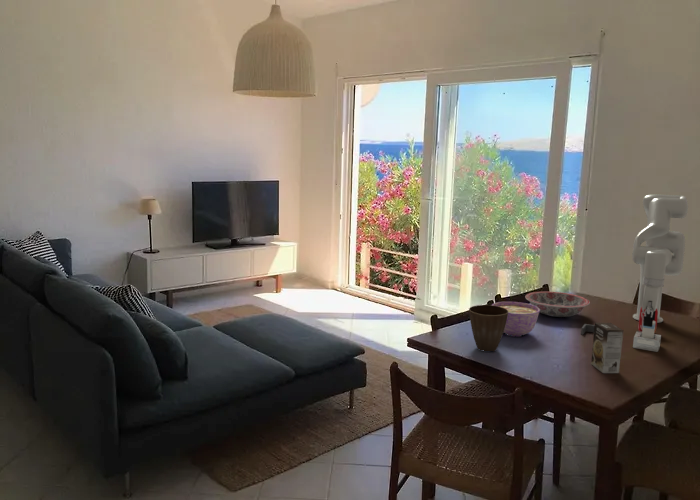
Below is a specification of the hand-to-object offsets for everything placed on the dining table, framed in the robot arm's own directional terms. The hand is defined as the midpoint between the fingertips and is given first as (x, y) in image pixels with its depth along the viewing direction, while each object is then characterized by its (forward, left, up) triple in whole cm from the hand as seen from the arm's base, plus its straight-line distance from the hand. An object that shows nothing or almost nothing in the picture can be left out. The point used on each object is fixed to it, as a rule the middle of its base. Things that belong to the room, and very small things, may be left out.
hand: (648, 322), depth 238 cm
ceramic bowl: (-26, -42, -10) cm, 51 cm away
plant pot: (+41, -53, -10) cm, 67 cm away
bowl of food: (+15, -50, -10) cm, 53 cm away
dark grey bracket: (-4, -22, -10) cm, 24 cm away
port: (+1, 0, -10) cm, 10 cm away
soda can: (-20, -2, -10) cm, 23 cm away
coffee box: (+37, -10, -10) cm, 39 cm away
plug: (+1, 0, -9) cm, 9 cm away
